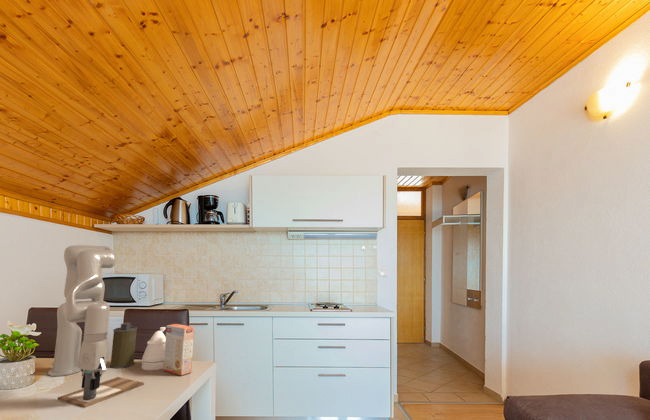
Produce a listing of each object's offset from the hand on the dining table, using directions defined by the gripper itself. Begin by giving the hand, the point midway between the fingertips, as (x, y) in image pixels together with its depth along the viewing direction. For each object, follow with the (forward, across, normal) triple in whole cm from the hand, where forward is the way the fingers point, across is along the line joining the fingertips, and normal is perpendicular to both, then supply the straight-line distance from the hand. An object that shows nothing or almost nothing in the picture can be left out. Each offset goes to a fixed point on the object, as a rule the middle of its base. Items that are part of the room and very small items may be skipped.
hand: (90, 387), depth 127 cm
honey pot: (+5, -12, +40) cm, 42 cm away
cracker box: (+5, +4, +38) cm, 38 cm away
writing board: (+5, -4, +8) cm, 10 cm away
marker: (+3, 0, 0) cm, 3 cm away
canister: (+5, -28, +34) cm, 44 cm away
